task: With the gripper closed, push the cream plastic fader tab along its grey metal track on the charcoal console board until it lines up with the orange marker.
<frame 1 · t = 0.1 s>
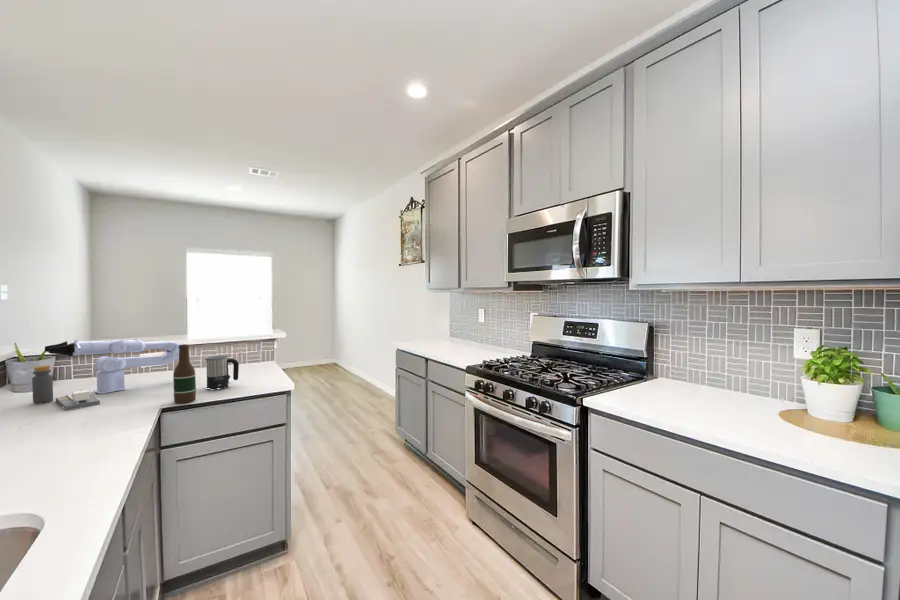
hand: (46, 349, 164), 22 cm above the countertop, tool horizontal, fingers open, 7 cm apart
bottle: (43, 402, 164), on the countertop
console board: (77, 402, 163), on the countertop
milk frother: (218, 386, 191), on the countertop
fader tab: (81, 396, 159), point 4 cm above the countertop, slide at 6.0 cm
beer bottle: (185, 401, 166), on the countertop
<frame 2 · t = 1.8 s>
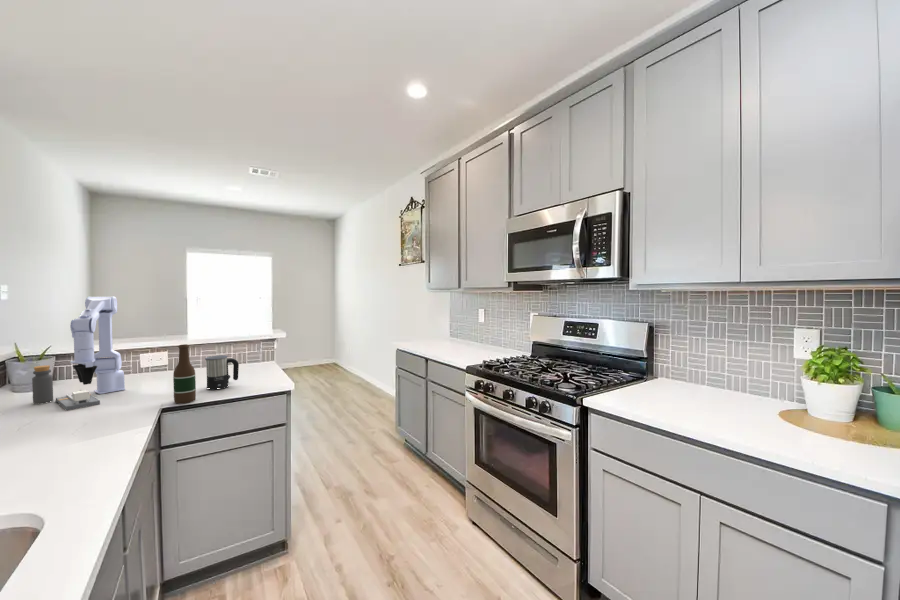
hand: (85, 383, 154), 10 cm above the countertop, tool pointing down, fingers open, 5 cm apart
nothing on the countertop moved.
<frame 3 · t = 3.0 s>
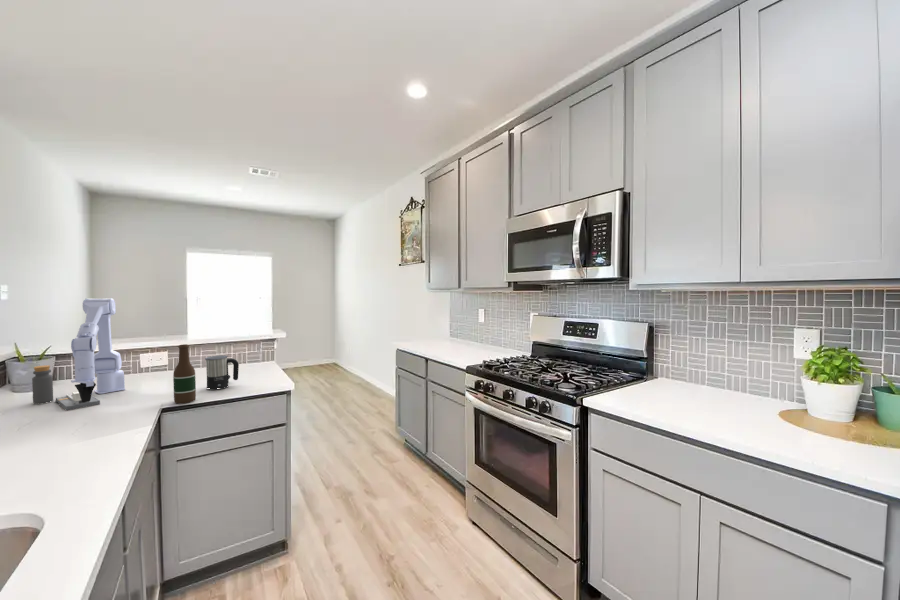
hand: (85, 401, 155), 3 cm above the countertop, tool pointing down, fingers closed
nothing on the countertop moved.
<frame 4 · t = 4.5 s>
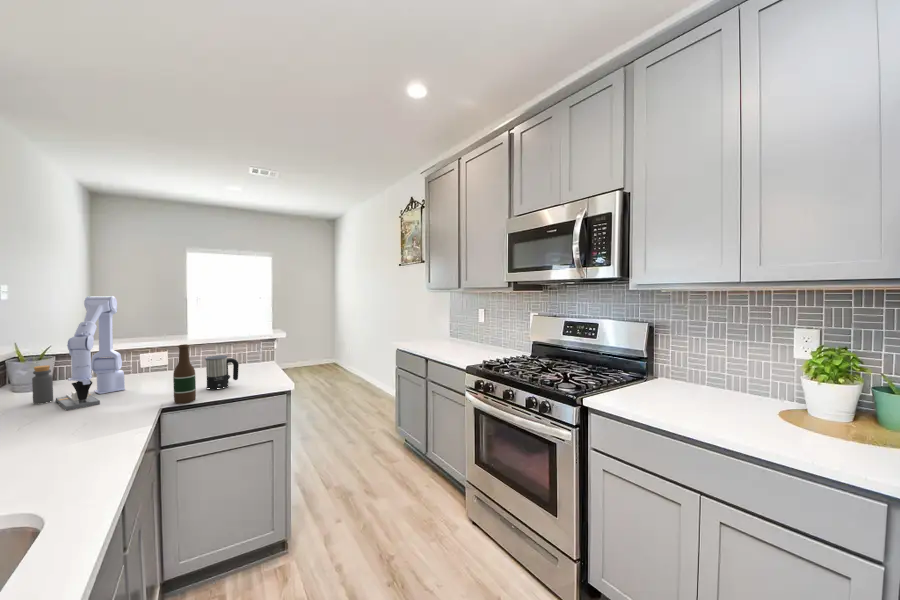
hand: (82, 399, 158), 3 cm above the countertop, tool pointing down, fingers closed
fader tab: (80, 396, 160), point 4 cm above the countertop, slide at 4.8 cm, touching gripper
everything else where it was.
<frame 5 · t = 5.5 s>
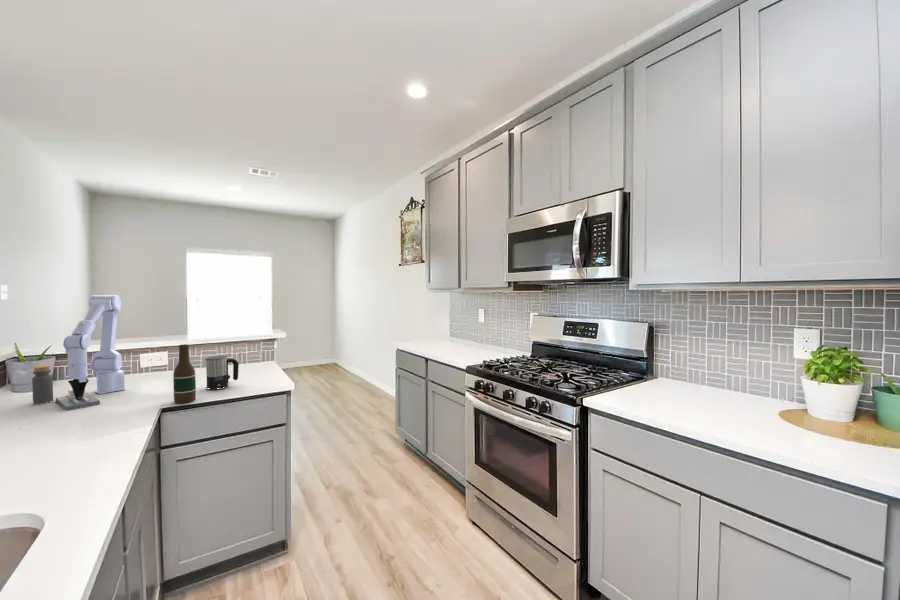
hand: (79, 396, 161), 3 cm above the countertop, tool pointing down, fingers closed
fader tab: (76, 393, 163), point 4 cm above the countertop, slide at -0.9 cm, touching gripper
everything else where it was.
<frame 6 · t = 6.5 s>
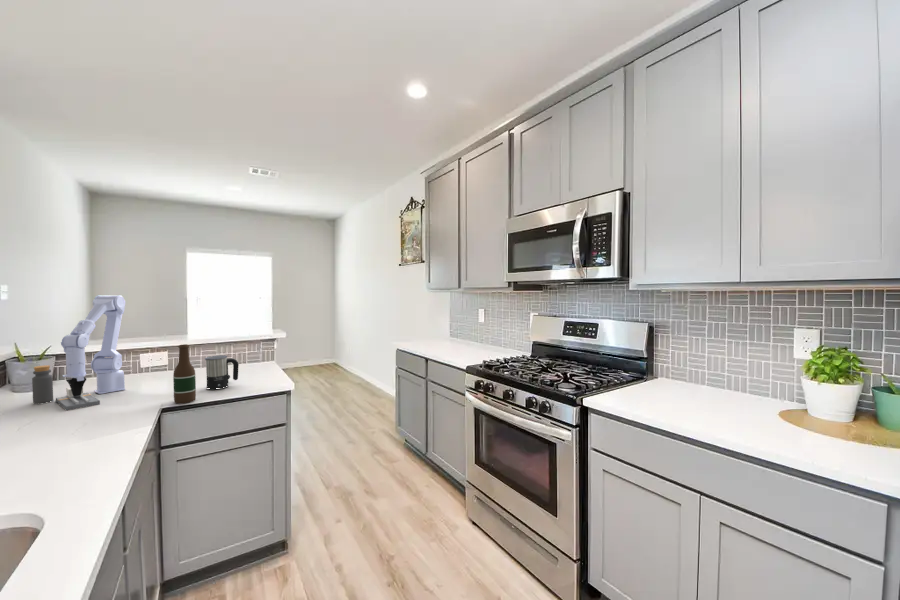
hand: (76, 395, 163), 3 cm above the countertop, tool pointing down, fingers closed
fader tab: (74, 392, 165), point 4 cm above the countertop, slide at -4.2 cm, touching gripper
everything else where it was.
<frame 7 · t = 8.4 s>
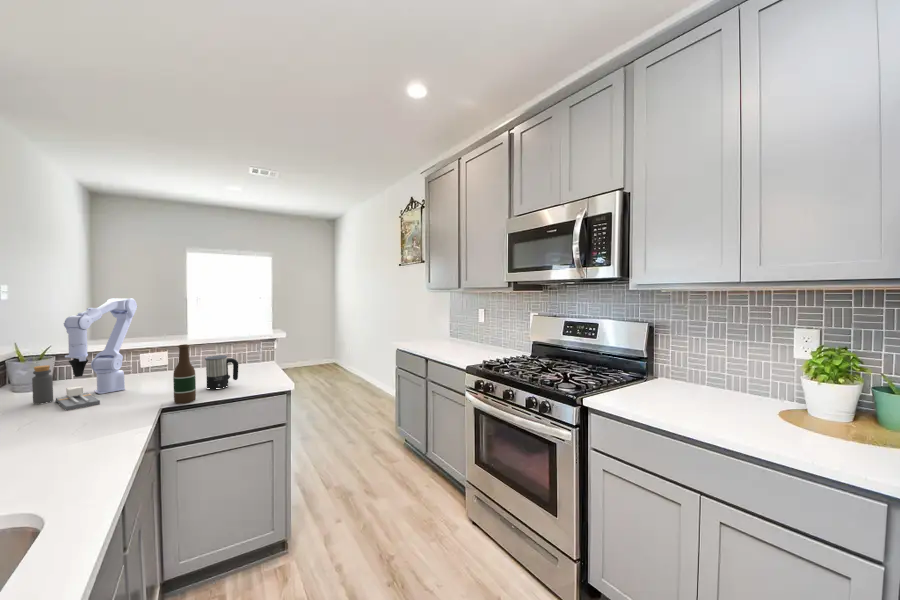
hand: (78, 376, 165), 10 cm above the countertop, tool pointing down, fingers closed
fader tab: (74, 392, 165), point 4 cm above the countertop, slide at -4.2 cm
everything else where it was.
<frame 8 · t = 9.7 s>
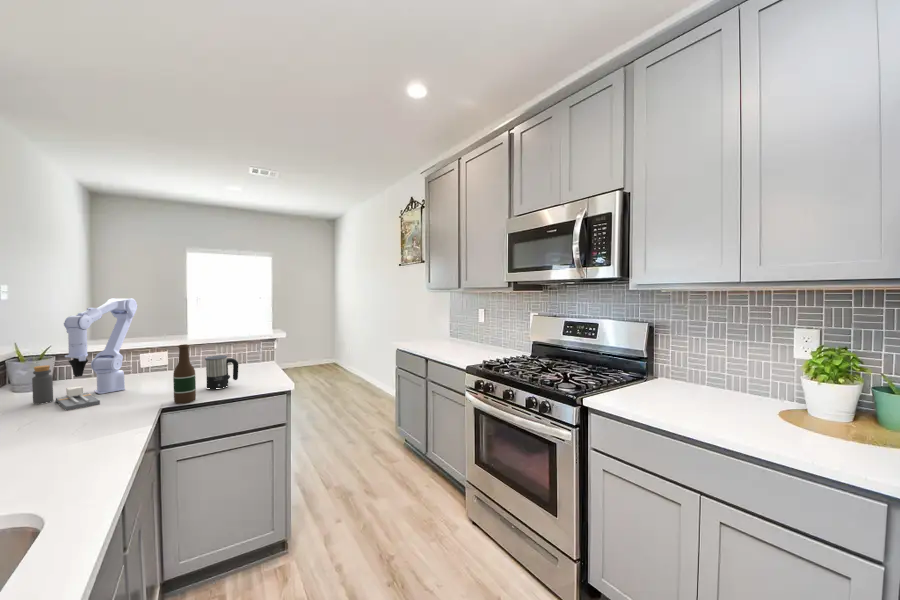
hand: (78, 376, 165), 10 cm above the countertop, tool pointing down, fingers closed
nothing on the countertop moved.
at the end: fader tab slide at -4.2 cm; bottle moved 0.2 cm from its start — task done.
